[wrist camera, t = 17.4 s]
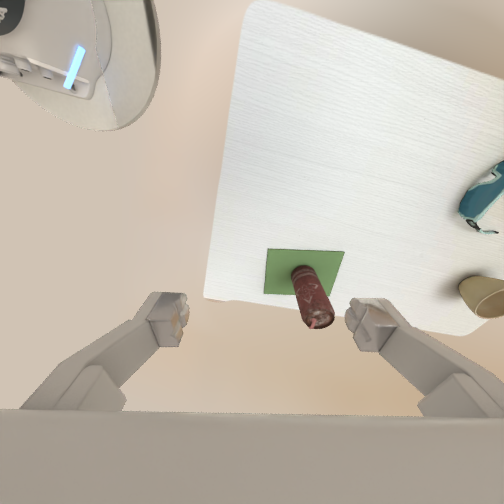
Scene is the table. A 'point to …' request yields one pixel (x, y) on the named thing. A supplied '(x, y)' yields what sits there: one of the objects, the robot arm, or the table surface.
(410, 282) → the table surface
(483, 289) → the flower pot
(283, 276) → the felt cloth
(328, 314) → the can
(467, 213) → the sunglasses
